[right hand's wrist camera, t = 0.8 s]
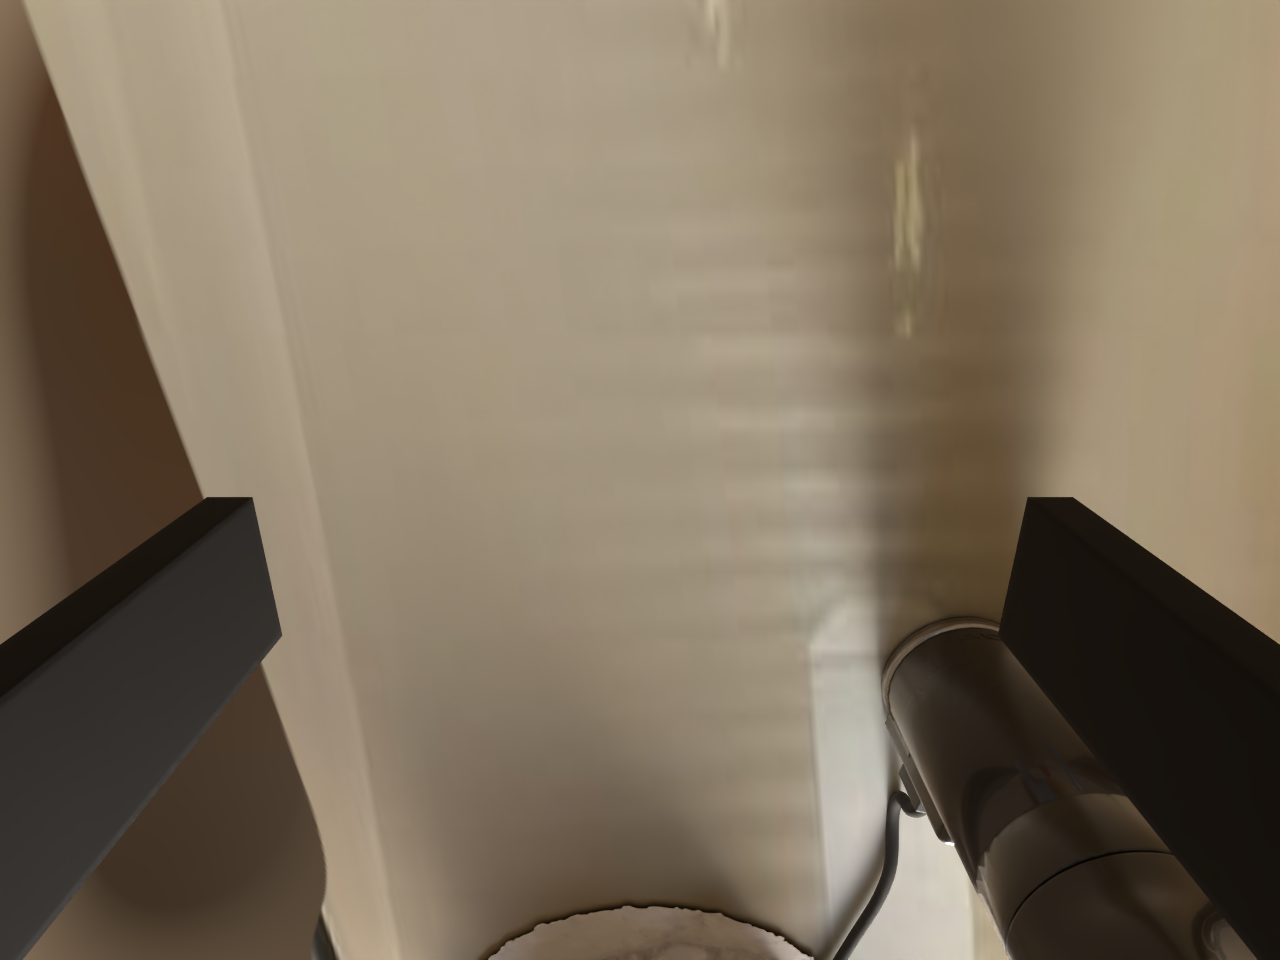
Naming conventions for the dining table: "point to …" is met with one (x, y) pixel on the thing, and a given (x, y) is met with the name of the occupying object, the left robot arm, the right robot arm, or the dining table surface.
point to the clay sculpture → (648, 938)
